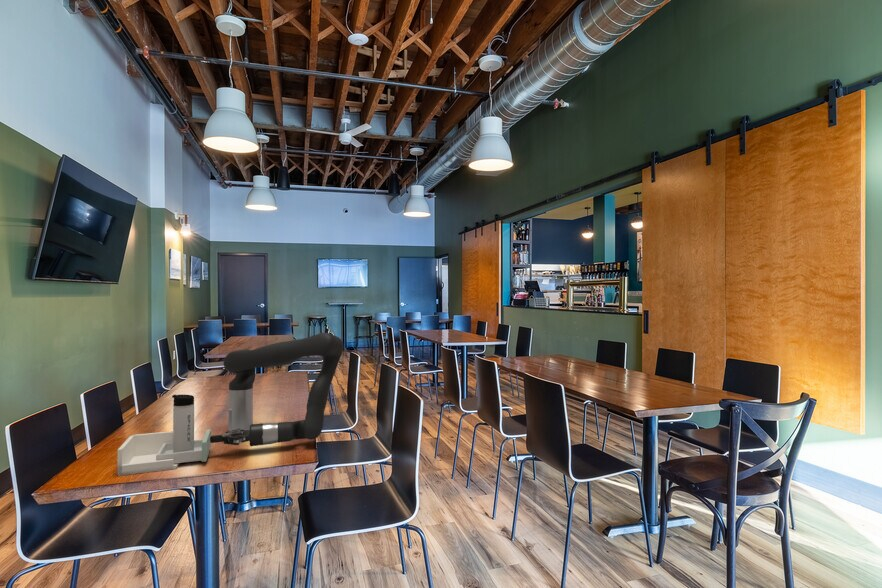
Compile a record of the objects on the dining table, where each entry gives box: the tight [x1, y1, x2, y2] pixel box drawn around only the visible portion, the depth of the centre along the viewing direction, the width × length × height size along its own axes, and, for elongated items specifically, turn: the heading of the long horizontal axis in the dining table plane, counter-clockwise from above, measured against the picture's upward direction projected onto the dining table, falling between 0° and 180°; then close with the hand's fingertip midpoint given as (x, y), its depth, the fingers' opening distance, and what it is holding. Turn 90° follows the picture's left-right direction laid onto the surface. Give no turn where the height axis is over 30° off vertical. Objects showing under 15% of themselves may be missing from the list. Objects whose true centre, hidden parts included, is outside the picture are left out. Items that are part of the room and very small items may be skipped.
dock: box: [116, 430, 180, 477], centre depth 155 cm, size 16×17×8 cm
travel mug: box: [171, 394, 195, 453], centre depth 158 cm, size 6×7×20 cm
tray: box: [156, 428, 212, 464], centre depth 158 cm, size 15×17×6 cm
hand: (210, 439), depth 161 cm, fingers closed
